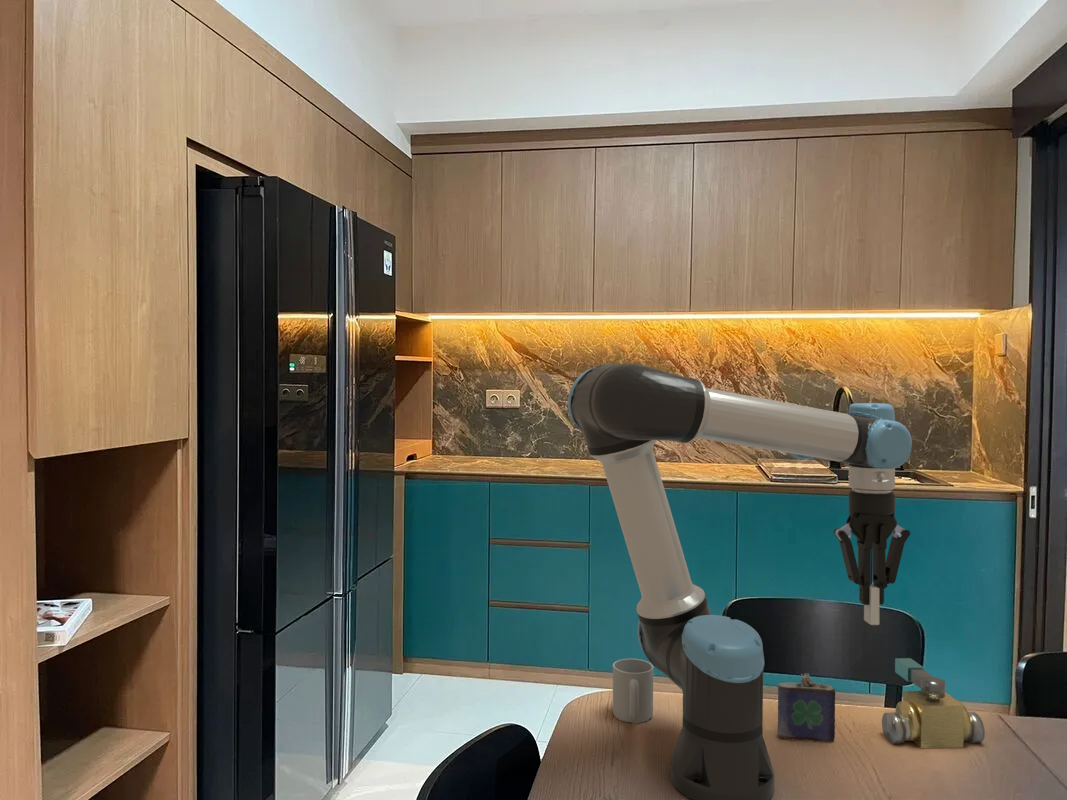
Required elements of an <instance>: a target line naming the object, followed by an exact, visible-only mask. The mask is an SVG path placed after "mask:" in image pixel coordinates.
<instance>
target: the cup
mask: <svg viewBox="0 0 1067 800" xmlns="http://www.w3.org/2000/svg"><path fill="white" fill-rule="evenodd" d="M612 713H613V715H614V717H615V718H616V719H617V718H618V719H617V720H619V721H621V722H624V723H628V722H632V723H631V724H641V722H642V723H645V721H646V722H648V721H650V720H651V719H652V718H653V714H654V665H652V663H651V662H650V661H647V660H643V659H641V658H640V659H639V658H623V659H618V660H616V661H614V662H613V663H612ZM650 718H651V719H650ZM649 719H650V720H649Z"/></svg>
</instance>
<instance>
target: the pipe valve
mask: <svg viewBox="0 0 1067 800" xmlns="http://www.w3.org/2000/svg"><path fill="white" fill-rule="evenodd" d="M894 711H895V712H883V715H882V718H881V726H882V727H881V728H882V731H883V735H884V737H885V738H886V739H887V740H888V741H889V742H890V743H891V744H892V745H893V744H896V745H897V744H899V745H900V744H904V743H905V742H914V744H916V745H917V746H918V747H919V748H920V749H964V741H966V742H969V741H970V742H971V744H981V743H983V742H984V741H985V737H986V731H985V726H984V722H983V720H982V717H981V716H980V715H979V714H978V713H976V712H975V711H968V709H967V708H966V706H965V705H964V703H962V702H961V701H959V700H957V699H955V698H954V697H953V696H952V695H950V694H949V693H947V692H946V691H945V697H944V698H931V697H927V696H925V695H923V694H922V693H921V690H903V691H902V701H899V702H898V703H897V704H896V706H895V710H894ZM970 742H969V743H970Z"/></svg>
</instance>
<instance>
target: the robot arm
mask: <svg viewBox="0 0 1067 800" xmlns="http://www.w3.org/2000/svg"><path fill="white" fill-rule="evenodd" d="M568 393H569V394H568V397H567V408H568V412H569V415H570V418H571V420H572V422H573V423H574V424H575V425H576V427H577V428H578V429H579V430H581V431H582V434H583V437H584V442H585V444H586V446H587V450H588V454H589V456H590V457H591V458H592V459H595V460H596V461H598V462H600V463H601V466H602V468H603V472H604V475H605V478H606V480H607V481H606V483H607V485H608V488H609V491H610V494H611V497H612V501H613V506H614V507H615V512H616V515H617V517H618V518H617V519H618V520H619V525H620V528H621V531H622V534H623V538H624V541H625V545H626V548H627V551H628V555H629V557H630V562H631V564H632V569H633V571H634V574H635V578H636V582H637V584H638V588H639V591H640V594H641V595H640V596H641V597H640V600H639V601H638V603H637V605H636V613H637V617H638V619H639V620H638V622H637V629H636V630H637V631H636V634H637V640H638V644H639V646H640V649H641V651H642V652H643V654H644V656H645V657H646V660H648V662H649V663H651V664H652V665H653V667H655V668H656V669H657V670H659V671H660V672H661V673H662V674H663V675H664V676H665V677H667V678H668V679H669V680H670V681H671V682H673V683H674V684H675V685H676V686H677V687H678V688H679V689H680V690H681V691H682V727H681V729H680V733H679V735H678V736H679V737H678V739H677V742H676V745H675V748H674V750H673V754H672V757H671V759H670V782H671V783H672V786H674V788H675V789H676V790H677V791H678V792H679V793H681V795H683V796H685V797H687V798H689V799H690V800H770V799H772V798H773V796H774V793H775V786H776V785H775V782H776V781H775V779H776V778H775V771H774V766H773V765H772V761H771V757H770V754H769V752H768V748H767V746H766V742H765V738H764V735H763V726H764V725H763V721H764V720H763V714H764V712H763V710H764V708H763V707H764V704H763V703H764V667H765V656H764V650H763V649H764V648H763V641H762V638H761V636H760V635H759V632H757V630H756V629H755V628H753V627H752V626H751V625H749V624H748V623H746V622H744V621H742V620H739V619H737V618H735V619H731V617H729V616H725V615H720V614H719V615H718V614H712V613H711V610H710V607H709V603H708V600H707V597H706V594H705V591H704V590H703V588H701V587H700V586H697V585H695V584H694V583H693V582H692V579H691V575H690V571H689V568H688V565H687V562H686V558H685V555H684V554H685V553H684V551H683V548H682V545H681V541H680V538H679V533H678V531H677V528H676V524H675V521H674V518H673V514H672V509H671V507H670V503H669V500H668V497H667V494H666V490H665V486H664V482H663V480H662V476H661V473H660V470H659V466H658V463H657V459H656V456H655V452H654V445H655V444H656V443H657V441H666V442H667V441H669V442H678V443H681V444H682V443H683V444H689V443H692V442H693V441H694V440H695V439H701V440H707V441H713V442H720V443H724V444H725V443H726V444H732V445H738V446H742V447H743V446H744V447H748V448H749V447H751V448H754V449H763V450H766V451H767V450H768V451H774V452H779V453H787V454H790V456H791V457H793V458H794V459H797V460H808V461H813V460H825V461H833V462H838V463H844V464H848V487H849V488H850V489H851V490H850V491H848V518H846V523H845V524H844V525H843V526H841V527H840V528H835V529H833V534H834V535H835V538H836V539H837V540H838V542H839V546H840V550H841V554H842V558H843V563H844V566H845V567H844V568H845V571H846V574H847V578H848V580H849V581H851V582H852V583H854V584H855V585H858V586H859V587H858V588H859V590H858V591H859V592H858V596H859V602H860V604H862V605H863V620H864V621H865V622H866V623H867V624H869V625H870V626H879V625H880V606H881V605H882V606H883V605H884V603H885V589H887V588H888V585H889V584H895V582H896V581H897V576H898V571H899V568H900V564H901V559H902V556H903V552H904V547H905V543H906V542H907V540H908V538H909V537H910V536H911V532H910V530H908V529H905V528H904V527H902V526H900V525H898V520H897V519H896V516H895V513H896V512H895V511H896V494H895V493H894V492H893V491H892V490H894V489H895V488H896V469H898V468H899V467H901V466H903V465H904V464H905V463H906V462H907V461H908V459H909V457H910V456H911V452H912V449H913V448H912V447H913V440H912V436H911V433H910V431H909V430H908V429H907V427H906V426H905V425H904V424H902V423H901V422H899V421H896V414H895V409H894V407H893V405H892V404H889V403H878V402H877V403H876V402H872V403H871V402H869V403H868V402H867V403H866V402H863V403H861V402H860V403H858V402H857V403H851V404H850V405H849V406H848V412H847V413H844V412H838V411H833V410H828V409H823V408H822V409H821V408H818V407H817V408H816V407H811V406H808V405H807V406H805V405H800V404H794V403H790V402H783V401H778V400H773V399H769V398H762V397H759V396H752V395H747V394H742V393H741V394H740V393H736V392H731V391H725V390H721V389H720V390H719V389H715V388H708V387H706V386H705V384H704V383H703V381H702V380H700V379H697V378H692V377H687V376H682V375H679V374H676V373H671V372H668V371H664V370H661V369H658V368H654V367H651V366H648V365H644V364H639V363H632V362H628V363H621V364H620V363H619V364H617V363H616V364H615V363H614V364H613V363H605V364H601V365H599V364H598V365H596V366H594V367H591V368H589V369H587V370H585V371H583V372H582V373H580V375H579V376H577V378H576V379H575V380H574V382H573V384H572V385H571V387H570V390H569V392H568ZM851 533H852V534H853V535H854V537H855V538H856V545H857V559H856V555H855V550H854V546H853V543H852V541H851V539H852V534H851ZM890 536H891V539H890V543H889V547H888V539H889V537H890ZM887 547H888V551H887V556H886V550H887Z"/></svg>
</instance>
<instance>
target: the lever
mask: <svg viewBox="0 0 1067 800" xmlns="http://www.w3.org/2000/svg"><path fill="white" fill-rule="evenodd" d="M894 667H895V668H894V672H895V673H896V675H898V676H900V677H901V678H902V679H903V680H905V682H908V683H913V684H914V685H915V686H917V687H918V688H919V689H920V691H921V693H922V694H923V695H925V696H927V697H931V698H944V697H945V692H946V681H945V680H944V679H942V678H939V677H936V676H933V675H931V674H930V673H929V672H927V671H926V670H924V669H925V667H923V666H922V665H921V664H919V662H917V661H916V660H914V659H912V658H910V657H907V658H906V657H904V658H903V657H901V658H896V657H895V658H894Z"/></svg>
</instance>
